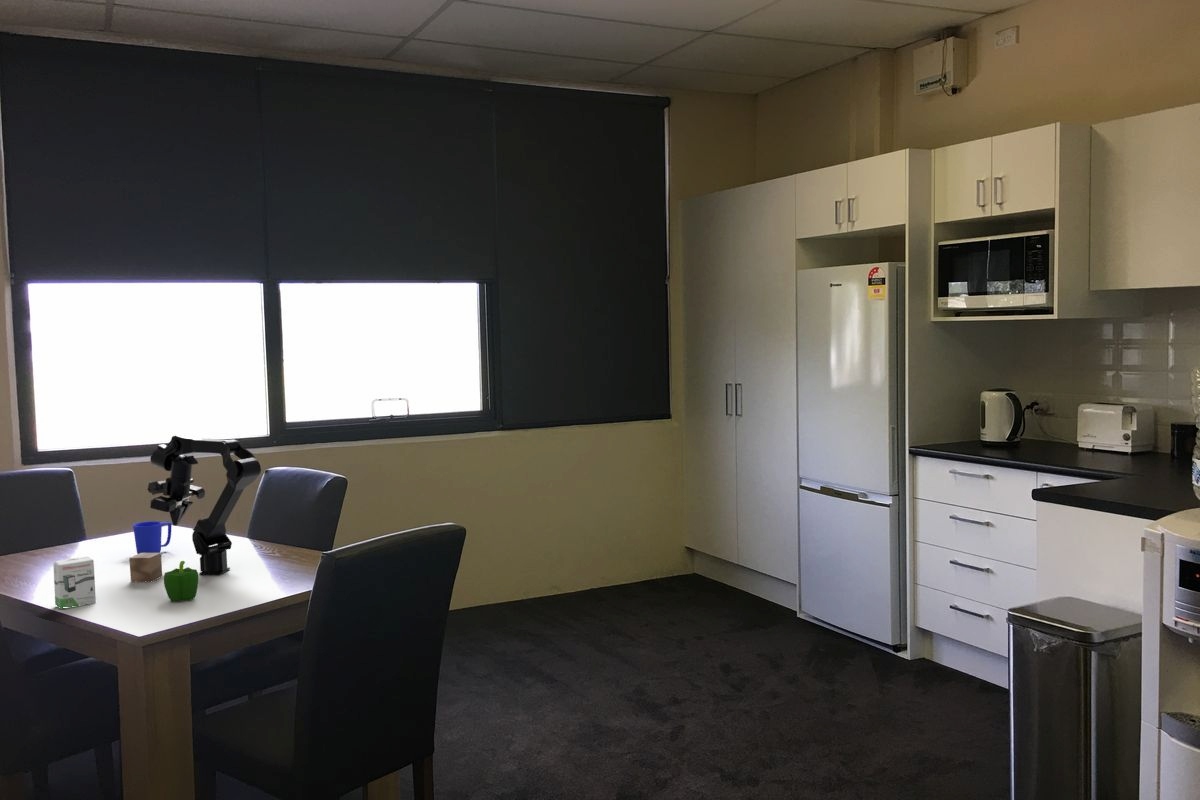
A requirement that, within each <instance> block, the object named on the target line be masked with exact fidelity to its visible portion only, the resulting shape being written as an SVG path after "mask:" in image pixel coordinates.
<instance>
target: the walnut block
mask: <svg viewBox="0 0 1200 800" xmlns="http://www.w3.org/2000/svg"><path fill="white" fill-rule="evenodd" d="M162 563H163V561H162V552H160V553H140V554H135V555H133V556H131V557H129V573H130V583H152V582H154V581H156V580H158V579H160V578H162V577H163V567H162V566H163V564H162ZM161 576H162V577H161ZM159 577H160V578H159ZM157 578H158V579H157ZM155 579H156V580H155ZM153 580H154V581H153ZM135 581H137V582H135ZM145 581H146V582H145ZM151 581H152V582H151Z"/></svg>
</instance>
